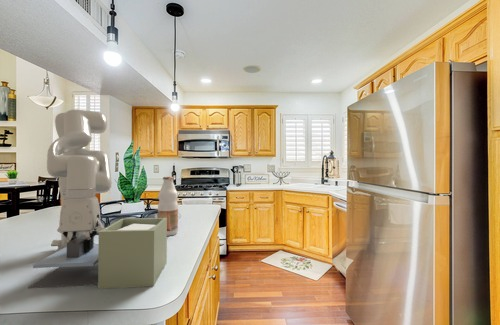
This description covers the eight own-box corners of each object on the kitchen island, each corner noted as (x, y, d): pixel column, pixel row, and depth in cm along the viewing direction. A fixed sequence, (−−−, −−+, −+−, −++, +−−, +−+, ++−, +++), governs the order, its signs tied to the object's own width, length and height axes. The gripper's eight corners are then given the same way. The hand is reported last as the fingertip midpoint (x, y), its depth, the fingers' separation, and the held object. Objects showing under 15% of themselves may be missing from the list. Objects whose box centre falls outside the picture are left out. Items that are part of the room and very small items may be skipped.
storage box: (98, 288, 66) (98, 231, 66) (121, 264, 81) (121, 218, 80) (153, 285, 67) (154, 230, 67) (166, 263, 82) (166, 217, 82)
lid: (33, 268, 66) (33, 248, 66) (70, 247, 82) (70, 231, 82) (93, 265, 68) (93, 246, 68) (118, 246, 84) (118, 230, 84)
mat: (28, 288, 65) (27, 287, 65) (68, 262, 82) (68, 261, 82) (96, 285, 67) (96, 284, 67) (122, 260, 84) (122, 259, 84)
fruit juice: (156, 237, 110) (156, 177, 110) (159, 231, 119) (159, 176, 119) (177, 235, 112) (177, 177, 112) (178, 230, 121) (179, 176, 121)
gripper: (44, 196, 70) (43, 257, 70) (102, 195, 72) (102, 255, 72) (61, 192, 78) (61, 248, 78) (114, 192, 79) (113, 246, 79)
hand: (81, 250), depth 75 cm, fingers closed on lid, 3 cm apart
